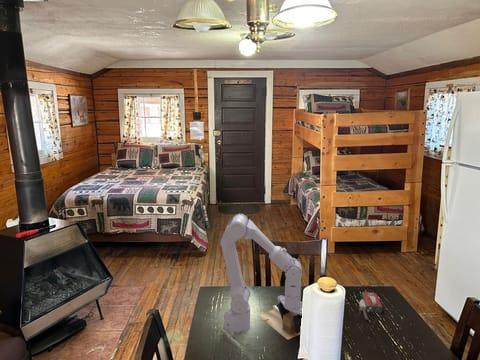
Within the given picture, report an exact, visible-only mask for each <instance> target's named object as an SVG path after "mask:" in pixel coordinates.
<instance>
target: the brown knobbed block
mask: <svg viewBox="0 0 480 360" xmlns="http://www.w3.org/2000/svg"><path fill="white" fill-rule="evenodd" d="M296 315H297V313H295V312H292V311H289V313H287V314H284V315H283V320H282V322H283V330H284V331H285V332H287V333H288V334H289V335H292V334H294V333H296V332H295V322H294V319H293V316H296Z"/></svg>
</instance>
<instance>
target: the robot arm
mask: <svg viewBox="0 0 480 360" xmlns="http://www.w3.org/2000/svg"><path fill="white" fill-rule="evenodd" d="M224 229H225V230H224V232H223V234H222V237H221V239H220V245H221V251H222V254H223V260H224V262H225V267H226V272H227V276H228V281H229V285H230V298H231V299H230V303H229V305H230V308H229V309H228V310H226V311H225V312H224V314H223V327H222V329H223V330H224V331H225V333H227V334H228V336H230V337H231V338H232V339H233V340H236V337H235V336H234V335H236V334H239V333H244V332H246V331H248V330H249V329H251V328H250V327H251V305H250V304H249V300H250V296H251V292H250V289H249V288H248V287H247V285H246V282H245V281H244V277H243V273H242V269H241V264H240V260H239V255H238V250H237V246H236V243H237V241H239V240H241V239H242V238H243V237H244V238H243V239H244V240H253V241H254V242H255V243H256V244H258V245H259V246H260V247H262V248H263V250H265V252H267V253H268V258H269V259H270V260H271V261H272V263H274V264H275V265H276V266H277V267H278V268H279V269H280V270H281V271H282V272H284V275H285V276H284V277H285V280H284V281H285V282H284V295H279V296H277V302H279V303H278V304H277V305H276V306H277V308H278V309H279V311H280V314H281V318H282V320H283V315H284V314H287V313H289V312H295V313H297V315H296V316H293V319H294V322H295V332H296V333H299V332H300V326H301V318H302V307H303V305H302V304H303V302H302V301H301V297H302V296H301V295H302V277H303V272H302V270H303V269H302V265H301V263H300V261H299V259H298V258H297V259H296V258H295V257H292V256H291V255H290V254H289V253H288V252H287V249H286V248H285V247H282V246H280V245H279V246H278V245H275V244H274V243H273V242H272V241H271V240H270V239H269V238H268V237H267V236H266V235H265V234H264V233H263V232H262V231H261V230H260V229H259V228H258V226H257V225H256V224H255V223H254V221H253V220H251V219H249V218H248V216H246V215H245V214H243V213H238V214H235V215H233V217H232V218H231V219H230V220H229V221H228V224H227V226H226V228H224Z"/></svg>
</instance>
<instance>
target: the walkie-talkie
mask: <svg viewBox="0 0 480 360" xmlns="http://www.w3.org/2000/svg"><path fill="white" fill-rule="evenodd" d="M359 296H360V301H359V305H358V306H359V309H360V311H362V313H363V316H364V319H365V320H366V321H368V320H369V318H368V315H367V313H376V314H380V313H381V314H382V313H383V305H382V303H381V301H380V299H379V296H378V294H377V293H375V292H373V291H372V292H371V291H363V292H361V293H360V295H359Z"/></svg>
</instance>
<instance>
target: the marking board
mask: <svg viewBox="0 0 480 360" xmlns="http://www.w3.org/2000/svg"><path fill="white" fill-rule="evenodd" d="M257 316H258V317H259V318H260V320H261V319H262V320H263V321H264V322H265V323H267V324H268V325H269V326H270V327H271V328H273V329H274V330H275V331H276V332H278V334H280V335H281V336H282V337H283V338H285V339H286V340H287V341H288V340H291V339H293V338H295V337H297V336H299V335H301V334H300V332H299V333H294V334H292V335H289V334H288V333H287V332H285V331H284V330H283V322H282V318H281V314H280V311H279V309H278V308H277V305H273V306H272V309H271V310H268V311H265V312H263V313H260V314H258V315H257Z"/></svg>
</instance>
